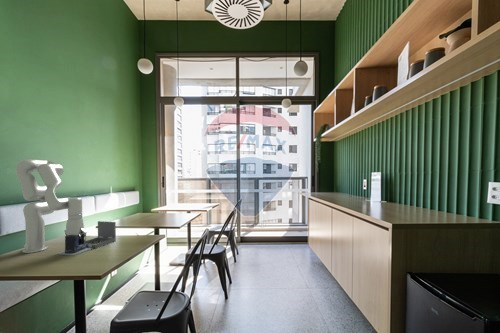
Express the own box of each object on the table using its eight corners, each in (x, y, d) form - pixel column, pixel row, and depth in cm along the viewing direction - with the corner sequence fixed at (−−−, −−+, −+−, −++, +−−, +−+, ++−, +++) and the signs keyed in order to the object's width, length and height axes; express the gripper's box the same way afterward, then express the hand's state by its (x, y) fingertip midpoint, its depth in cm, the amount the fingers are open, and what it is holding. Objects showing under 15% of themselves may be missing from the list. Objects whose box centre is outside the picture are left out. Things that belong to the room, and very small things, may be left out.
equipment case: (76, 247, 167) (76, 226, 167) (99, 240, 184) (99, 221, 184) (94, 248, 163) (94, 227, 163) (115, 241, 180) (115, 221, 180)
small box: (74, 253, 152) (74, 236, 153) (64, 253, 153) (64, 236, 153) (86, 248, 163) (86, 232, 163) (77, 247, 164) (77, 232, 164)
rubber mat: (57, 254, 154) (57, 253, 154) (77, 247, 166) (77, 246, 166) (73, 255, 150) (73, 254, 150) (92, 249, 163) (92, 248, 163)
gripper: (59, 217, 157) (59, 244, 157) (80, 218, 152) (80, 246, 152) (70, 215, 164) (70, 241, 164) (91, 216, 160) (91, 243, 159)
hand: (75, 243), depth 158 cm, fingers open, 9 cm apart
